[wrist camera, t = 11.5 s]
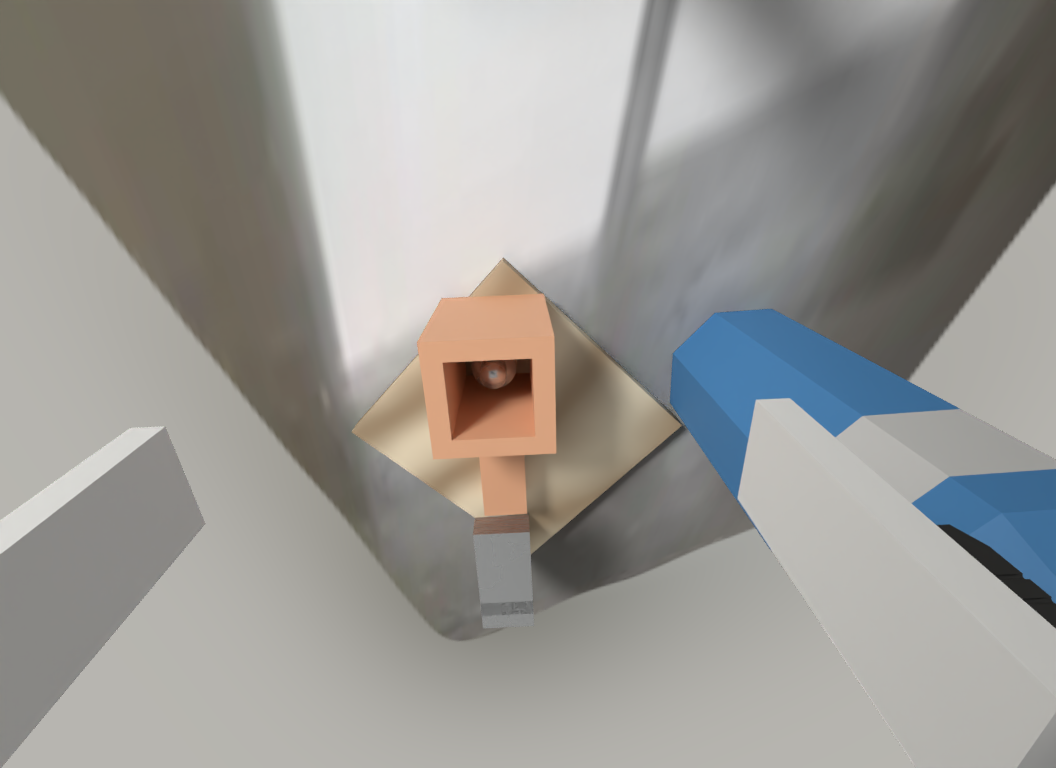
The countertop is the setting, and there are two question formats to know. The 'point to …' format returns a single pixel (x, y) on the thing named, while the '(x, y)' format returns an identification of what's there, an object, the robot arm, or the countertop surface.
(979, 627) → the robot arm
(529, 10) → the countertop surface
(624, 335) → the countertop surface
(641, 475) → the countertop surface
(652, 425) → the board
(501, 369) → the pintle
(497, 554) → the block
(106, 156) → the countertop surface
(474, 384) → the link
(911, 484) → the water bottle
